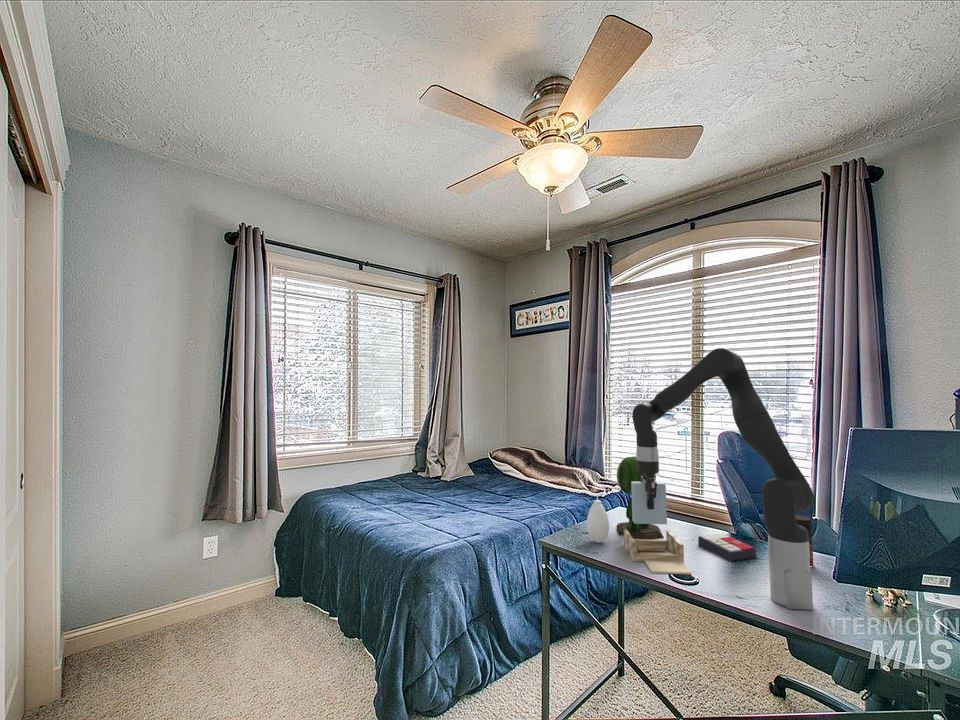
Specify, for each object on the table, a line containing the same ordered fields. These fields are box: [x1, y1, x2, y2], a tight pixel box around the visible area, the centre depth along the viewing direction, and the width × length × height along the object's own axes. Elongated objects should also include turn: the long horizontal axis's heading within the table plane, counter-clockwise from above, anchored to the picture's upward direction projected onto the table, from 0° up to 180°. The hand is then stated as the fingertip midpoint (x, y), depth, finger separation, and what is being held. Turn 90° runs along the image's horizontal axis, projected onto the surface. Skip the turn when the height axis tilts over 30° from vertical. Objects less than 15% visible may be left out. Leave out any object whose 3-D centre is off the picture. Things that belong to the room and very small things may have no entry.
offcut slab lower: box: [640, 551, 672, 554], centre depth 151 cm, size 3×10×2 cm, turn 84°
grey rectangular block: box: [631, 481, 668, 525], centre depth 159 cm, size 4×11×14 cm, turn 84°
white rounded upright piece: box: [586, 493, 610, 544], centre depth 168 cm, size 8×8×18 cm
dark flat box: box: [697, 532, 757, 561], centre depth 158 cm, size 11×4×15 cm
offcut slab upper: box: [636, 545, 667, 553], centre depth 154 cm, size 3×9×2 cm
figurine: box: [615, 456, 665, 540], centre depth 179 cm, size 17×20×30 cm
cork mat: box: [643, 560, 692, 575], centre depth 144 cm, size 9×12×1 cm
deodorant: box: [795, 514, 814, 567], centre depth 147 cm, size 6×6×15 cm
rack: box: [623, 529, 685, 564], centre depth 156 cm, size 15×16×6 cm
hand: (649, 507), depth 159 cm, fingers closed on grey rectangular block, 3 cm apart
